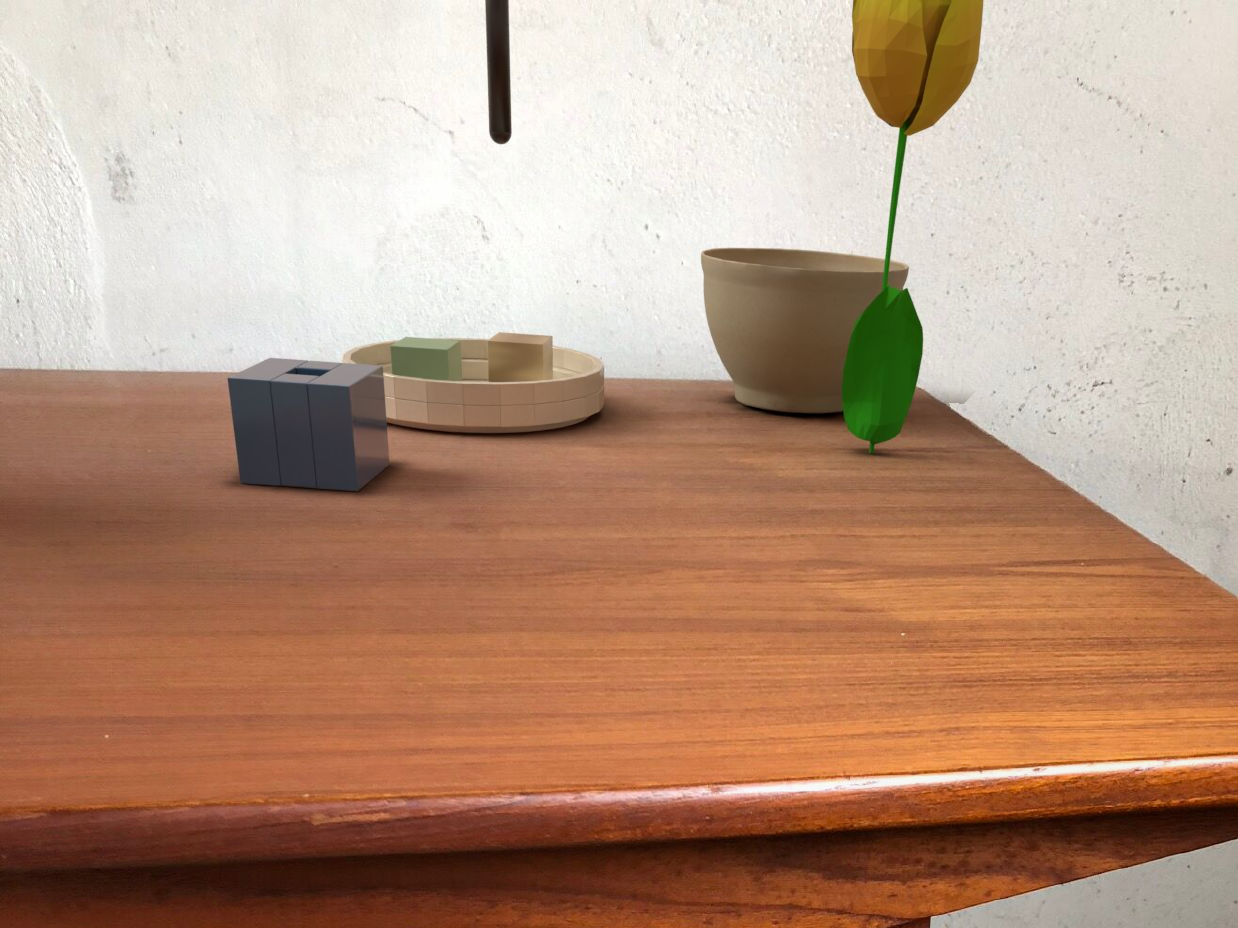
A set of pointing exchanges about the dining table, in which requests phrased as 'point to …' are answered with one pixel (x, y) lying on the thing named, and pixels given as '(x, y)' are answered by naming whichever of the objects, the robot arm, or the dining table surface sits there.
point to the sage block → (427, 358)
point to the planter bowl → (789, 320)
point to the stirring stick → (498, 70)
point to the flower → (913, 101)
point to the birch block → (520, 357)
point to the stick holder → (309, 423)
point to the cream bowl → (489, 393)
